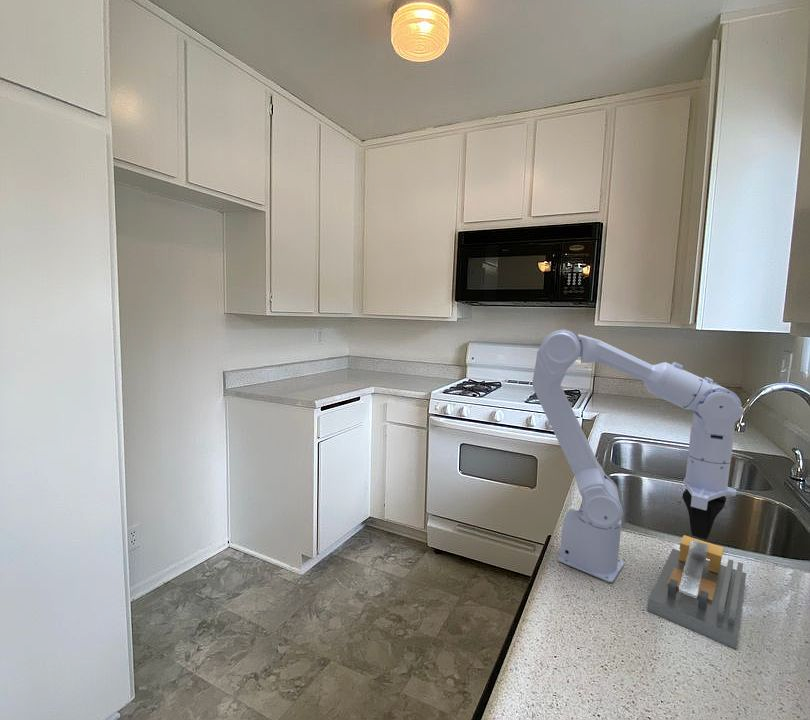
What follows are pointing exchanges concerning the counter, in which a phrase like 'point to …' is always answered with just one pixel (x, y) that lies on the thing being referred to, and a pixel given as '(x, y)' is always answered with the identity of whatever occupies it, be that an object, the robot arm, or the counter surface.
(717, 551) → the clip
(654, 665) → the counter surface
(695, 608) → the grey fixture base plate
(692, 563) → the strap
